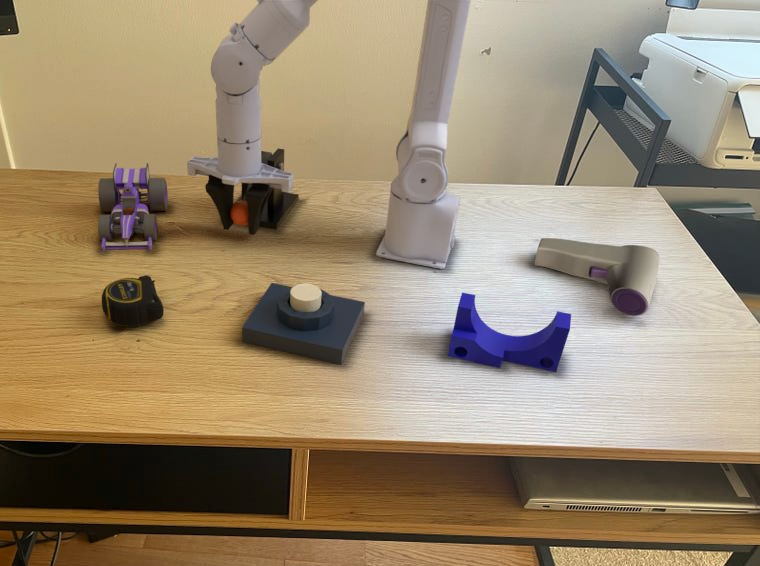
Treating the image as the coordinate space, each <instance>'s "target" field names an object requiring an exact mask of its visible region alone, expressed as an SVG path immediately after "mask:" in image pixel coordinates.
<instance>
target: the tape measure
mask: <svg viewBox="0 0 760 566" xmlns="http://www.w3.org/2000/svg"><path fill="white" fill-rule="evenodd" d="M155 282H156V280H153V279H152V277H151V276H150V275H140V276H139V277H138V278H137V277H124V278H118V279H116V280H114V281H112V282H110V283H109V284H107V285H106V286H105V288H104V289H103V292H102V294H101V307H102V311H103V314H104V315H105V317H106V318H107V319H108V320H109V321H110V322H111V323H112V324H115V325H117V326H121V327H129V328H130V327H138V326H142V325H145V324H148V323H151V322H155V321H158V320H160V319H162V318H163V317H164V313H165V312H164V310H165V309H164V305H163V302H162V301H161V299H160V297H159V295H158V294H157V290H156V289H157V288H156V287H155V285H156V284H155Z"/></svg>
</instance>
